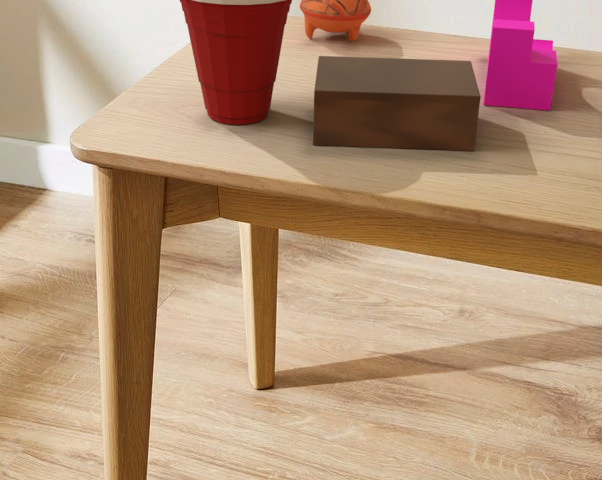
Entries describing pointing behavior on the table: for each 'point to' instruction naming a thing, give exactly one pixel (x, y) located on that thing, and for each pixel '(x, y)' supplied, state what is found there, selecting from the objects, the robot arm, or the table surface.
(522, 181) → the table surface
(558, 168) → the table surface
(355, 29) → the pot
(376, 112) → the block
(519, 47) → the toy block
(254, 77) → the plastic cup
